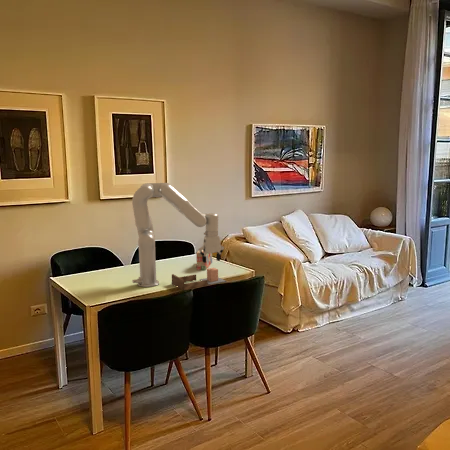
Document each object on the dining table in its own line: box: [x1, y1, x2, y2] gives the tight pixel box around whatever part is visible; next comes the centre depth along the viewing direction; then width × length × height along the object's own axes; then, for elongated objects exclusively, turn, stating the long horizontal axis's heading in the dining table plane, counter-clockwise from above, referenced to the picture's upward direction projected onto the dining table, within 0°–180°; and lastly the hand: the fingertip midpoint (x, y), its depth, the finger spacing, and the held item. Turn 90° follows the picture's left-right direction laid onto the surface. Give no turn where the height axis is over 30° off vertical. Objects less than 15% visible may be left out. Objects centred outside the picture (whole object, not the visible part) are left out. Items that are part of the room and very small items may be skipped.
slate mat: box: [199, 276, 227, 286], centre depth 283 cm, size 12×12×1 cm
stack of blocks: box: [195, 250, 213, 271], centre depth 317 cm, size 21×6×12 cm, turn 170°
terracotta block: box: [206, 267, 219, 282], centre depth 282 cm, size 5×5×7 cm
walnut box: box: [171, 273, 208, 291], centre depth 274 cm, size 16×15×6 cm
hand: (211, 261), depth 281 cm, fingers open, 9 cm apart
